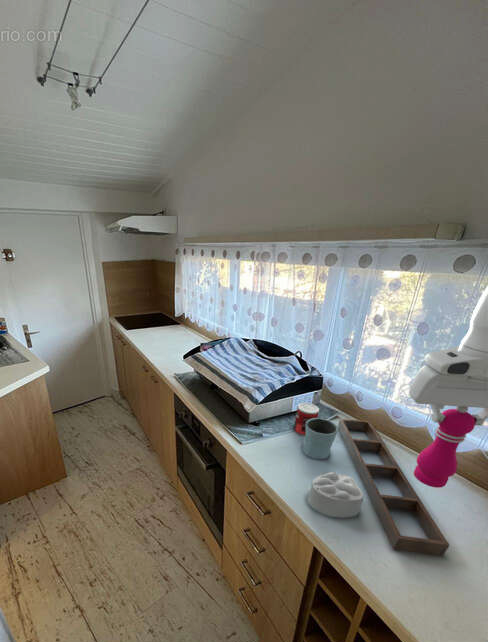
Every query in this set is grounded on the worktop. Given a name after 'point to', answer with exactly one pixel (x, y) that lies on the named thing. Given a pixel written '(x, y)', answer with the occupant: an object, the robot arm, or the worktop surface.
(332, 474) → the lumpy-topped squat cylinder
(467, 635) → the worktop surface
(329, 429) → the grey-green cup
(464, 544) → the worktop surface
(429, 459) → the pepper mill
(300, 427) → the canned food
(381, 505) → the cubby organizer
